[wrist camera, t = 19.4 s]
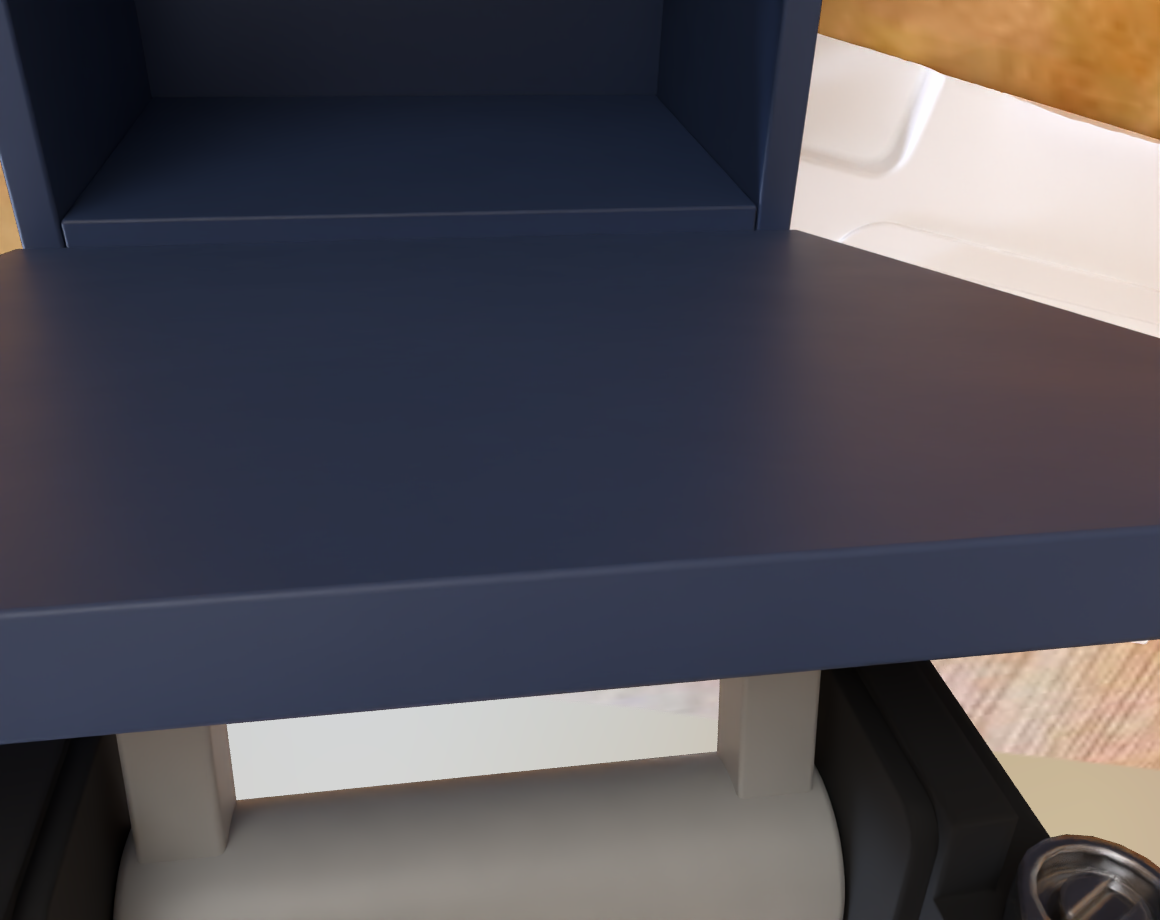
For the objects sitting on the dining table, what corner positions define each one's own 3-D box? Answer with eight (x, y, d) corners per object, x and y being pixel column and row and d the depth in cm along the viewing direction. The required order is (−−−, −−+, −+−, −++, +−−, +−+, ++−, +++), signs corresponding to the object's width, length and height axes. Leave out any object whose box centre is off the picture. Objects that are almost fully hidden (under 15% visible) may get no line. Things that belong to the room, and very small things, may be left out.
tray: (1148, 645, 48) (1199, 703, 45) (558, 551, 41) (569, 612, 38) (1444, 219, 39) (1535, 255, 35) (737, 6, 32) (772, 27, 29)
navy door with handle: (-1254, 703, 5) (-789, 1446, 6) (1676, 490, 7) (1479, 1069, 9) (14, 248, 20) (56, 495, 22) (797, 228, 22) (784, 452, 24)
